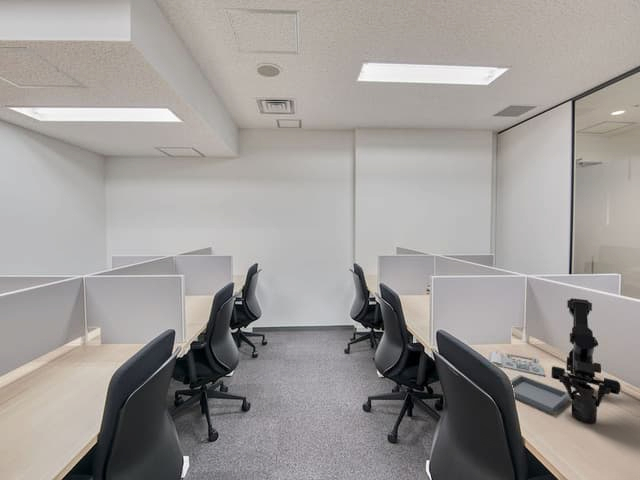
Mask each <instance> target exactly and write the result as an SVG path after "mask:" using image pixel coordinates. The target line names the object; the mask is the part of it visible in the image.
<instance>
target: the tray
mask: <svg viewBox="0 0 640 480" xmlns="http://www.w3.org/2000/svg"><path fill="white" fill-rule="evenodd" d="M510 380H511V382H512V385H513V388H514V393H515V398H516V399H515V398H514V399H515V400H517V401H519V402H522V403H524V404H527V405H528V406H530V407H533V408H536V409H538V410H540V411H543V412H545V413H547V414H549V415H551V416H553V415H554V414H556V413H557V412H558V411H559V410H560V409H561V408H563V407H564V406H565V405H566V404H567V403H568V402H570V401H571V399H570V396H569V394H568V392H567V391H565V390H562V389H559V388H557V387H554V386H551V385H549V384H547V383H543V382H540V381H538V380H535V379H533V378H531V377H528V376H525V375H521V374H519V375H517V376H516V377H514V378H512V379H510Z"/></svg>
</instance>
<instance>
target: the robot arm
mask: <svg viewBox="0 0 640 480" xmlns="http://www.w3.org/2000/svg"><path fill="white" fill-rule="evenodd" d="M566 304H567V305H566V307H567V309H568V313H569V314H570V315H571V317H572V319H573V320H572V321H573V324H572V328H571V332H569V343H571V344H572V345H573V348H572V350H570V351H569V353H568V356H566V369H565V368H563V367H560V366H555V365H554V366H552V367H551V377H550V378H552V379H553V380H558V381H559V383H562V385H563V386H564V387H565V389H566V392H568V394H569V396H570V401H572V392H573V390H572V387H574V388H575V387H576V383H582V384H586V385H589V386H591V385H595V386H597V387H598V389H597V397H596V398H597V408H599V407H600V404H601V402H602V399H603V398H604V397H605V395H610V394H613V395H619V394H620V392H621V390H622V389H621V388H622V387H621V383H620V382H619V381H618V380H615V379H610V378H606V377H604V378H603V380H601V379H595V377H596V375H595V374H596V373H597V374H601V373H602V366H601V365H602V363H598V362H594V360H593V357H594V356H593V355H594V351H595V348H597V347H599V342H598V340H597V339H596V337H595V336H593V330H592V329H591V328H590V327H589V323H588V322H589V321H588V320H589V319H588V316H589V315H590V312H592V311H593V303H592V302H590V301H589V300H588V299H580V298H573V297H570V299H568V300H567V301H566ZM565 370H566V371H565Z"/></svg>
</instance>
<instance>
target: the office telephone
mask: <svg viewBox="0 0 640 480" xmlns="http://www.w3.org/2000/svg"><path fill="white" fill-rule="evenodd" d="M511 357H514V358H511ZM519 357H520V358H521V359H525V360H521V359H517V358H519ZM515 358H516V359H515ZM488 360H490V361H491V362H493V363H494V364H496V365H497V366H496V367H499V368H503V367H504V369H509V370H513V371H517V372H523V373H525V374H531V375H532V374H533V375H537V376H541V377H546V375H545V371H544V369H543V366H542V365H540V364H539V358H534V357H529V356H524V355H519V354H514V353H507V352H506V353H505V356H504V354H503V352H500V351H497V350H496V351H495V350H494V351H490V352H489V356H488ZM527 360H530V361H527Z"/></svg>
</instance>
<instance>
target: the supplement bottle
mask: <svg viewBox="0 0 640 480" xmlns="http://www.w3.org/2000/svg"><path fill="white" fill-rule="evenodd" d="M589 385H590V384H588V385H586V384H582V383H576V387H574V390H572V400H571V410H570V411H571V417H572V418H574V419H575V420H577V421H579V422H580V423H584V424H588V425H595V424H597V420H598V407H597V397H596V396H595V395H594V393H595V391H594V390H595V389H594V388H593V387H592V386H591V385H590V386H589Z"/></svg>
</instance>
